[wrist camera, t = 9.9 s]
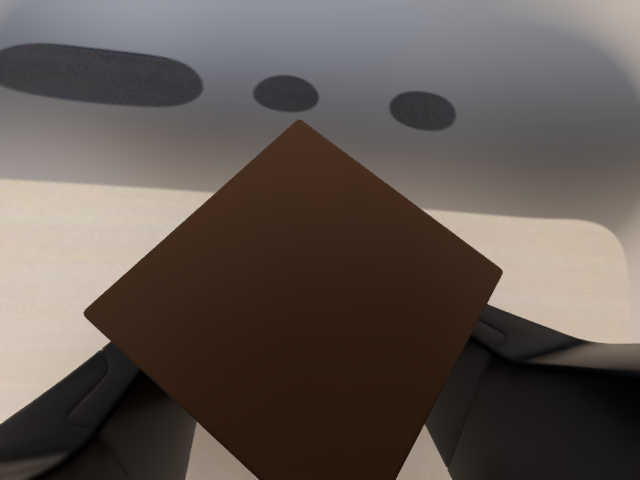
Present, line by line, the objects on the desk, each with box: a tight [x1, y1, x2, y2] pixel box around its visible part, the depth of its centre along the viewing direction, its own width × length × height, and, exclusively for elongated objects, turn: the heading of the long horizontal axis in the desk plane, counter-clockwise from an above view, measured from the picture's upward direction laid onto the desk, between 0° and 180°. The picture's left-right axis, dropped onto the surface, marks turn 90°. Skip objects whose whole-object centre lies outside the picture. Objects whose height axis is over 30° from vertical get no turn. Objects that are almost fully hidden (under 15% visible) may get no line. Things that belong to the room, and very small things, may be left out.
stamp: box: [84, 120, 503, 480], centre depth 9 cm, size 6×4×13 cm
